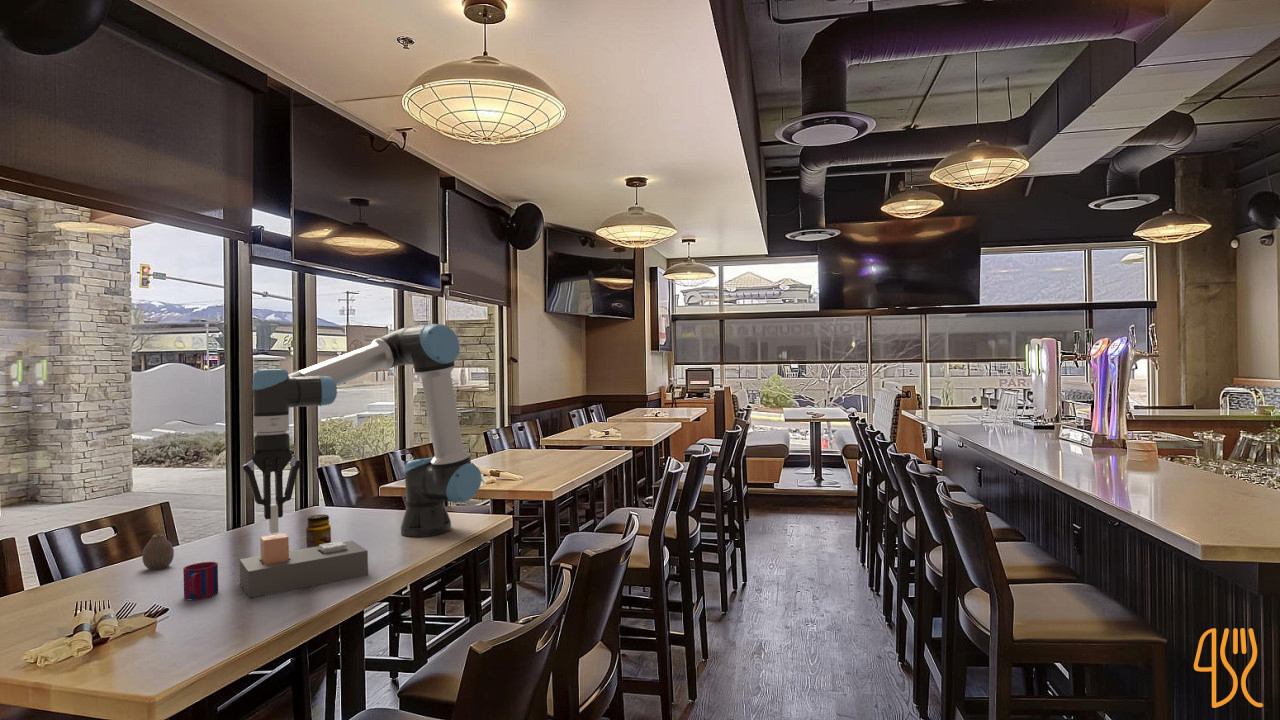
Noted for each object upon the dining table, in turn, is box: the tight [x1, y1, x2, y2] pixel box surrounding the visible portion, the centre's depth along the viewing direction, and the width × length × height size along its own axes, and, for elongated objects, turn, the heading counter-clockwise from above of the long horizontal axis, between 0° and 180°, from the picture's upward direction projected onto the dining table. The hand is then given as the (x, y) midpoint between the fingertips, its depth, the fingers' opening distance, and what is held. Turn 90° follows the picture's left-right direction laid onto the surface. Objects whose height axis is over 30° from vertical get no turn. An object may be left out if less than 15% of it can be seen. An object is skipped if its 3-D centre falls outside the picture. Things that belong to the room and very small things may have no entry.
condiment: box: [305, 514, 332, 548], centre depth 188 cm, size 7×8×12 cm
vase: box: [141, 533, 175, 571], centre depth 186 cm, size 7×7×9 cm
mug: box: [182, 561, 219, 601], centre depth 159 cm, size 7×10×7 cm
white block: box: [319, 540, 346, 554], centre depth 174 cm, size 5×5×6 cm
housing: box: [239, 540, 369, 599], centre depth 170 cm, size 26×14×6 cm, turn 127°
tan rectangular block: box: [259, 532, 290, 565], centre depth 167 cm, size 5×5×6 cm
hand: (273, 531), depth 167 cm, fingers closed
